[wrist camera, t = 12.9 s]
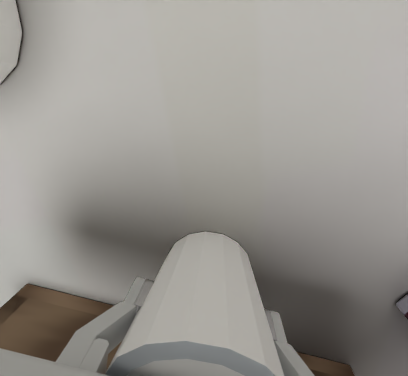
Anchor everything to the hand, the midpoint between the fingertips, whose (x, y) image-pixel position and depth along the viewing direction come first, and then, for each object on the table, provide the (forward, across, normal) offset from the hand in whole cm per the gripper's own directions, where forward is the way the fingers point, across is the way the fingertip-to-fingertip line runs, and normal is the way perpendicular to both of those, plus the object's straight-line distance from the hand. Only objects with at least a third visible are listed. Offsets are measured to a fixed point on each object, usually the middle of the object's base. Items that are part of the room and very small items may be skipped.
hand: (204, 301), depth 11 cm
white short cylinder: (+3, 0, 0) cm, 3 cm away
